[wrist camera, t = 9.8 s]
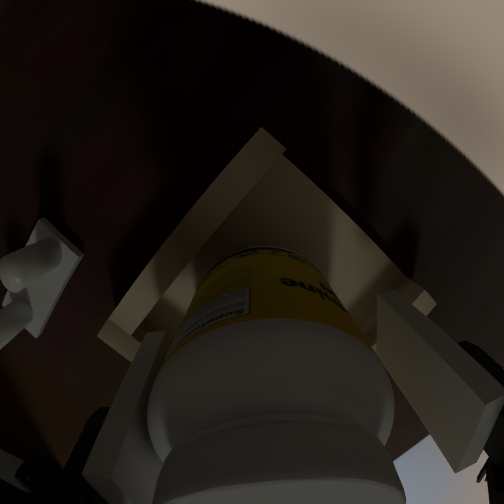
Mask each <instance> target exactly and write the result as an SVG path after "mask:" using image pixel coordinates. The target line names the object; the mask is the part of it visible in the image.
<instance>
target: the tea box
mask: <svg viewBox="0 0 504 504" xmlns="http://www.w3.org/2000/svg"><path fill="white" fill-rule="evenodd" d="M23 462H24V460H22V459H20V458H18V457H16V456H14V455H12V454H10V453H8V452H6V451H4V450H2V449H0V480H1V481H3V482H5V483H7V484H8V485H9V486H10V487H11V488H12V489H13V491H14V492H28V491H27V490H26V489H25V488H24V487H23V486H22V485H21V484H20V483H19V482H18V480H17V479H16V478H15V474H16V471H17V469H18V468H19V467H20V465H21V464H22V463H23Z"/></svg>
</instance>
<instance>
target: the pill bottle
mask: <svg viewBox="0 0 504 504" xmlns="http://www.w3.org/2000/svg"><path fill="white" fill-rule="evenodd" d="M393 419H394V395H393V390H392V386H391V383H390V380H389V378H388V376H387V373H386V371H385V367H384V366H383V364H382V362H381V360H380V358H379V357H378V356H377V354H376V353H375V352H374V350H373V349H372V347H371V346H370V344H369V343H368V341H367V340H366V338H365V337H364V335H363V334H362V332H361V331H360V329H359V328H358V326H357V325H356V323H355V322H354V320H353V319H352V318H351V316H350V315H349V313H348V312H347V310H346V309H345V307H344V306H343V304H342V303H341V301H340V300H339V298H338V297H337V295H336V294H335V292H334V291H333V289H332V288H331V286H330V285H329V283H328V282H327V280H326V279H325V277H324V276H323V275H322V274H321V272H320V271H319V270H318V269H317V268H316V267H315V266H314V265H313V264H312V263H311V262H310V261H309V260H308V259H306V258H305V257H303V256H302V255H300V254H298V253H296V252H294V251H292V250H289V249H286V248H283V247H278V246H270V245H257V246H251V247H246V248H243V249H240V250H237V251H235V252H232V253H230V254H229V255H227V256H225V257H223V258H222V259H221V260H219V261H218V262H217V263H216V264H215V265H213V266H212V267H211V269H210V270H209V271H208V272H207V273H206V275H205V276H204V278H203V279H202V281H201V283H200V284H199V286H198V288H197V290H196V292H195V294H194V296H193V299H192V301H191V303H190V305H189V308H188V310H187V312H186V314H185V316H184V318H183V320H182V323H181V325H180V327H179V329H178V331H177V333H176V336H175V338H174V340H173V342H172V344H171V346H170V349H169V351H168V353H167V355H166V357H165V359H164V362H163V364H162V365H161V367H160V370H159V373H158V375H157V377H156V379H155V382H154V384H153V387H152V390H151V393H150V397H149V401H148V406H147V425H148V431H149V435H150V439H151V442H152V444H153V447H154V449H155V451H156V452H157V454H158V456H159V458H160V459H161V461H162V462H163V463H164V464H163V467H162V468H161V471H160V474H159V476H158V480H157V483H156V488H155V492H154V496H153V501H152V504H406V497H405V492H404V488H403V486H402V483H401V481H400V479H399V476H398V474H397V471H396V469H395V466H394V463H393V460H392V458H391V455H390V453H389V452H388V450H387V449H386V448H385V444H386V442H387V439H388V437H389V435H390V432H391V428H392V424H393Z"/></svg>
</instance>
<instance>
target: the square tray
mask: <svg viewBox="0 0 504 504" xmlns="http://www.w3.org/2000/svg"><path fill="white" fill-rule="evenodd" d="M285 150H286V148H285V147H284V146H283V145H282V144H280V143H279V142H278V141H277V140H276V139H275V138H274V137H272V136H271V135H270V134H269V133H268V132H266V131H265V130H264V129H263V128H262V127H261V128H260V129H259V130H258V131H257V132H256V134H255V135H254V136H253V137H252V138H251V139H250V140H249V141H248V142H247V144H246V145H245V146H244V147H243V148H242V149H241V150H240V151H239V153H238V154H237V155H236V156H235V157H234V158H233V159H232V161H231V162H230V163H229V164H228V165H227V166H226V167H225V169H224V170H223V171H222V172H221V173H220V175H219V176H218V177H217V178H216V179H215V180H214V182H213V183H212V184H211V185H210V186H209V188H208V189H207V190H206V191H205V192H204V194H203V195H202V196H201V197H200V198H199V200H198V201H197V202H196V203H195V204H194V206H193V207H192V208H191V209H190V211H189V212H188V213H187V214H186V216H185V217H184V218H183V219H182V221H181V222H180V223H179V224H178V226H177V227H176V228H175V229H174V231H173V232H172V233H171V235H170V236H169V237H168V238H167V240H166V241H165V242H164V244H163V245H162V246H161V247H160V249H159V250H158V251H157V253H156V254H155V255H154V257H153V258H152V259H151V261H150V262H149V263H148V265H147V266H146V267H145V269H144V270H143V271H142V273H141V274H140V275H139V277H138V278H137V279H136V281H135V282H134V284H133V285H132V286H131V288H130V289H129V290H128V292H127V293H126V295H125V296H124V297H123V299H122V300H121V302H120V303H119V304H118V306H117V307H116V309H115V310H114V312H113V313H112V314H111V316H110V317H109V319H108V320H107V322H106V323H105V325H104V326H103V328H102V329H101V330H100V332H99V333H98V335H97V336H98V337H99V338H100V339H101V340H103V341H104V342H105V343H107V344H108V345H109V346H111V347H112V348H113V349H114V350H116V351H117V352H118V353H120V354H121V355H122V356H124V357H125V358H127V359H128V360H129V361H131V362H132V361H133V359H134V357H135V355H136V353H137V351H138V349H139V347H140V345H141V343H142V341H143V339H144V337H145V335H146V333H150V332H159V331H166V333H167V337H168V340H169V343H170V346H171V344H172V342H173V340H174V338H175V336H176V333H177V331H178V329H179V327H180V325H181V323H182V320H183V318H184V316H185V314H186V312H187V310H188V308H189V305H190V303H191V301H192V299H193V296H194V294H195V292H196V290H197V288H198V286H199V284H200V283H201V281H202V279H203V278H204V276H205V275H206V273H207V272H208V271H209V270H210V269H211V267H212V266H213V265H215V264H216V263H217V262H218V261H219V260H221V259H222V258H223V257H225V256H227V255H229V254H230V253H232V252H235V251H237V250H240V249H243V248H246V247H251V246H257V245H270V246H278V247H283V248H286V249H289V250H292V251H294V252H296V253H298V254H300V255H302V256H303V257H305V258H306V259H308V260H309V261H310V262H311V263H312V264H313V265H314V266H315V267H316V268H317V269H318V270H319V271H320V272H321V274H322V275H323V276H324V277H325V279H326V280H327V282H328V283H329V285H330V286H331V288H332V289H333V291H334V292H335V294H336V295H337V297H338V298H339V300H340V301H341V303H342V304H343V306H344V307H345V309H346V310H347V312H348V313H349V315H350V316H351V318H352V319H353V320H354V322H355V323H356V325H357V326H358V328H359V329H360V331H361V332H362V334H363V335H364V337H365V338H366V340H367V341H368V343H369V344H370V346H371V347H372V349H373V350H374V352H375V353H376V346H377V294H379V293H384V292H388V291H392V290H395V291H397V292H398V293H399V294H400V295H402V296H403V297H404V298H405V299H406V300H407V301H409V302H410V303H411V304H412V305H413V306H415V307H416V308H417V309H418V310H419V311H420V312H422V313H423V314H424V315H425V316H427V315H428V313H429V312H430V311H431V310H432V309H433V308H434V306H435V305H436V303H435V301H434V300H433V299H432V298H431V297H430V295H429V294H428V293H427V292H426V291H425V289H423V288H422V287H420V286H419V285H418V284H416V283H415V282H413V281H412V280H410V279H409V278H408V277H406V276H405V275H404V274H403V273H402V272H401V271H400V270H399V269H398V268H397V266H396V265H395V264H394V263H393V262H392V261H391V260H390V259H389V258H388V257H387V256H386V255H385V253H384V252H383V251H382V250H381V249H380V248H379V247H378V246H377V245H376V244H375V243H374V242H373V241H372V240H371V239H370V238H369V237H368V236H367V235H366V234H365V233H364V232H363V231H362V230H361V229H360V227H359V226H358V225H357V224H356V223H355V222H354V221H353V220H352V219H351V218H350V217H349V216H348V215H347V214H346V213H345V212H343V211H342V210H341V209H340V208H339V207H338V206H337V205H336V204H335V203H334V202H333V201H332V200H331V199H330V198H329V197H328V196H327V195H326V194H325V193H324V192H323V191H322V190H321V189H320V188H319V187H317V186H316V185H315V184H314V183H313V182H312V181H311V180H310V179H309V178H308V177H307V176H306V175H304V174H303V173H302V172H301V171H300V170H299V169H298V168H297V167H296V166H295V165H293V164H292V163H291V162H290V161H289V160H288V159H287V158H286V157H284V156H283V155H282V154H283V152H284V151H285Z"/></svg>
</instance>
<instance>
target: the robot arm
mask: <svg viewBox="0 0 504 504" xmlns="http://www.w3.org/2000/svg"><path fill="white" fill-rule="evenodd" d="M169 349H170V343H169V340H168V337H167V333H166V331H159V332H150V333H146V335H145V337H144V339H143V341H142V343H141V345H140V347H139V349H138V351H137V353H136V355H135V357H134V359H133V361H132V363H131V365H130V367H129V369H128V371H127V373H126V376H125V378H124V380H123V382H122V384H121V386H120V388H119V390H118V392H117V395H116V397H115V399H114V401H113V403H112V405H111V407H99V408H98V409H97V410H96V411H95V412H94V413H93V414H92V415H91V416H90V417H89V418H88V420H87V422H86V424H85V426H84V428H83V432H81V434H80V436H79V438H78V442H76V444H75V446H74V449H73V451H72V453H71V455H70V457H69V459H68V461H67V463H66V465H65V468H64V470H63V469H62V468H61V466H60V465H59V464H58V463H57V462H56V460H55V459H54V458H51V457H49V456H47V455H38V456H34V457H31V458H29V459H27V460H26V461H24V462H23V463H22V464H21V465H20V467H19V468H18V469H17V471H16V474H15V478H16V479H17V480H18V482H19V483H20V484H21V485H22V486H23V487H24V488H25V489H26V490H27V491H28V492H14V491H13V489H12V488H11V487H10V486H9V485H8V484H7V483H5V482H3V481H1V480H0V504H152V501H153V496H154V492H155V488H156V483H157V480H158V476H159V474H160V471H161V468H162V467H163V464H164V463H163V462H162V461H161V459H160V458H159V456H158V454H157V452H156V451H155V449H154V447H153V444H152V442H151V439H150V435H149V431H148V425H147V406H148V401H149V397H150V393H151V390H152V387H153V384H154V382H155V379H156V377H157V375H158V373H159V370H160V367H161V365H162V364H163V362H164V359H165V357H166V355H167V353H168V351H169ZM376 354H377V356H378V357H379V358H380V360H381V362H382V364H383V365H384V367H385V368H386V369H387V371H388V372H389V374H390V375H391V377H392V378H393V380H394V381H395V382H396V384H397V385H398V387H399V388H400V390H401V391H402V393H403V394H404V396H405V397H406V399H407V400H408V402H409V403H410V405H411V406H412V408H413V409H414V411H415V412H416V414H417V415H418V417H419V418H420V420H421V421H422V423H423V424H424V426H425V427H426V429H427V430H428V432H429V433H430V435H431V436H432V438H433V439H434V441H435V442H436V444H437V446H438V447H439V449H440V450H441V452H442V453H443V455H444V457H445V458H446V460H447V461H448V463H449V464H450V466H451V468H452V469H453V471H454V472H455V473H457V472H459V471H461V470H463V469H465V468H467V467H469V466H470V465H472V464H474V463H476V462H477V460H478V458H479V457H480V455H481V453H482V451H483V449H484V451H485V452H486V453H487V455H488V456H489V457H488V459H487V461H486V463H485V464H484V466H483V468H482V469H481V471H480V473H479V475H478V476H477V483H479V482H480V481H481V480H482V478H483V477H484V475H485V474H486V478H485V481H487V484H488V493H489V503H490V504H504V368H502V367H501V366H500V365H499V364H498V363H495V360H493V359H492V358H491V357H490V356H489V357H488V354H487V353H485V352H484V351H483V350H482V349H481V348H480V347H478V346H477V345H474V344H472V343H469V342H467V341H465V340H464V341H462V342H459V343H456V342H455V341H454V340H453V339H451V338H450V337H449V336H448V335H447V334H446V333H445V332H444V331H442V330H441V329H440V328H439V327H438V326H437V325H436V324H434V323H433V322H432V321H431V320H430V319H429V318H427V317H426V316H425V315H424V314H423V313H422V312H420V311H419V310H418V309H417V308H416V307H415V306H413V305H412V304H411V303H410V302H409V301H407V300H406V299H405V298H404V297H403V296H402V295H400V294H399V293H398V292H397V291H395V290H392V291H388V292H384V293H379V294H377V346H376Z"/></svg>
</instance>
